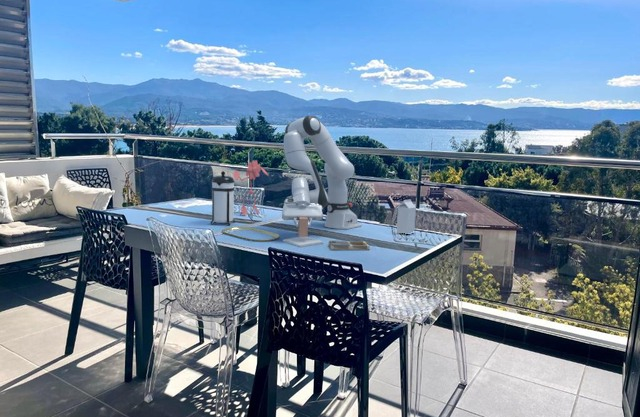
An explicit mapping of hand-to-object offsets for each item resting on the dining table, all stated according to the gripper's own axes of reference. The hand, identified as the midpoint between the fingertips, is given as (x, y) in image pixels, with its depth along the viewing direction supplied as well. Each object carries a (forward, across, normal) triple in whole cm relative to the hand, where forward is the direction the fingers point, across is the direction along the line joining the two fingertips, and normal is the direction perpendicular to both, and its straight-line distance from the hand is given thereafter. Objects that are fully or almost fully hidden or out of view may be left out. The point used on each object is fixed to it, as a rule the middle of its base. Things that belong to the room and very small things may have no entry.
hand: (303, 226), depth 240 cm
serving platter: (-7, +25, -20) cm, 32 cm away
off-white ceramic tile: (+5, 0, -7) cm, 8 cm away
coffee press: (-30, +40, -42) cm, 65 cm away
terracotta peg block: (+3, 0, -4) cm, 5 cm away
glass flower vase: (-49, +21, -60) cm, 81 cm away
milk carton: (-10, -60, -22) cm, 65 cm away
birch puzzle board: (+13, -21, +1) cm, 24 cm away
